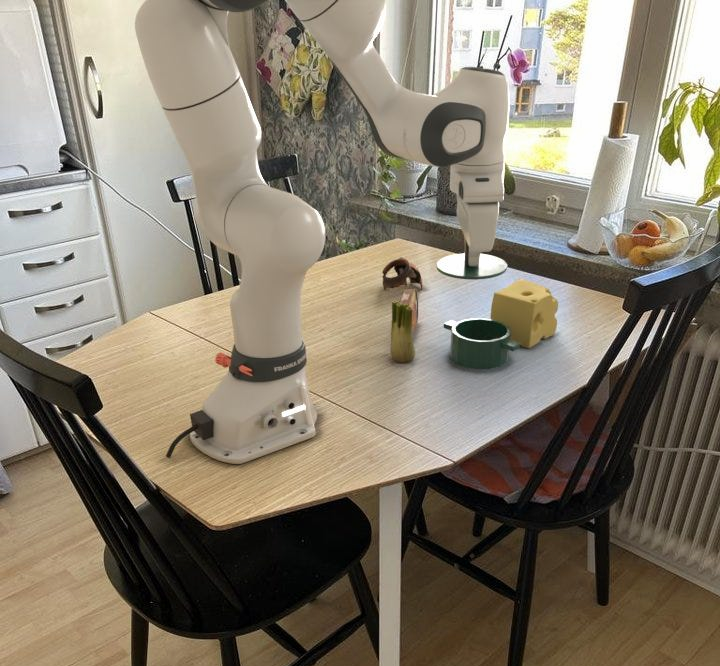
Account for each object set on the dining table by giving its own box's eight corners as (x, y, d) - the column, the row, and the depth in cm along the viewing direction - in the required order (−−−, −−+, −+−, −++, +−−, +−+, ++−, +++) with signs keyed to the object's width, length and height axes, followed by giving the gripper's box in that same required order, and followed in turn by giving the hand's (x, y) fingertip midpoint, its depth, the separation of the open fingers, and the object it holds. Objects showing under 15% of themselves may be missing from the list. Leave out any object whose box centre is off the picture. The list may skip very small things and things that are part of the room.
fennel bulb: (388, 355, 146) (388, 298, 139) (411, 353, 146) (413, 296, 139) (393, 367, 141) (393, 309, 134) (417, 365, 142) (419, 308, 135)
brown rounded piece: (429, 295, 174) (416, 270, 168) (394, 312, 176) (379, 288, 170) (420, 267, 181) (407, 242, 175) (387, 283, 184) (373, 259, 178)
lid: (478, 288, 121) (480, 258, 118) (422, 272, 128) (422, 243, 125) (520, 268, 128) (523, 240, 125) (464, 254, 135) (466, 227, 132)
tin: (409, 348, 148) (410, 309, 144) (394, 347, 149) (394, 308, 144) (419, 320, 160) (420, 283, 156) (405, 319, 161) (405, 282, 156)
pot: (496, 381, 136) (499, 351, 132) (428, 356, 145) (429, 326, 142) (530, 361, 142) (534, 332, 139) (462, 338, 152) (464, 310, 148)
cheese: (555, 334, 153) (562, 289, 147) (528, 350, 146) (534, 304, 141) (514, 322, 159) (519, 277, 153) (486, 337, 152) (490, 291, 146)
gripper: (450, 165, 127) (447, 243, 135) (465, 194, 111) (460, 282, 119) (486, 163, 127) (480, 242, 135) (506, 193, 110) (498, 280, 119)
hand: (471, 261), depth 127 cm, fingers closed on lid, 2 cm apart
